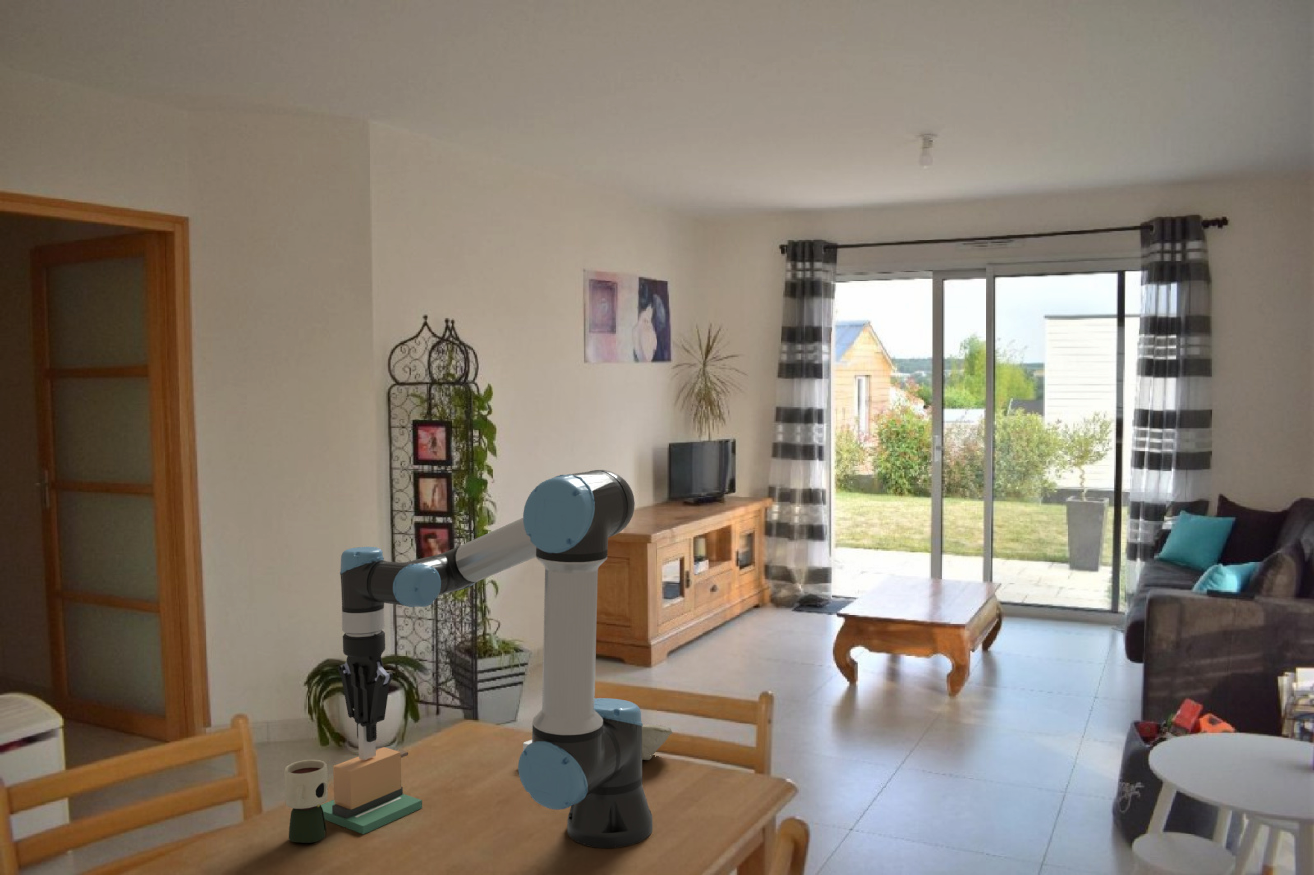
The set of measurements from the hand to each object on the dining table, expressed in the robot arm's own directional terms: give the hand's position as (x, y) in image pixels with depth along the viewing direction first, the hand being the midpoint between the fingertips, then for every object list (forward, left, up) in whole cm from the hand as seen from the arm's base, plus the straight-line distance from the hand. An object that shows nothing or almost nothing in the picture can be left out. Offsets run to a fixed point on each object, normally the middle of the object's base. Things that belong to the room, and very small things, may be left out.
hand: (367, 757), depth 192 cm
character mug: (0, +14, -11) cm, 17 cm away
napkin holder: (-14, -33, -11) cm, 37 cm away
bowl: (-26, -49, -11) cm, 57 cm away
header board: (0, 0, -10) cm, 10 cm away
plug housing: (0, -2, -7) cm, 8 cm away
